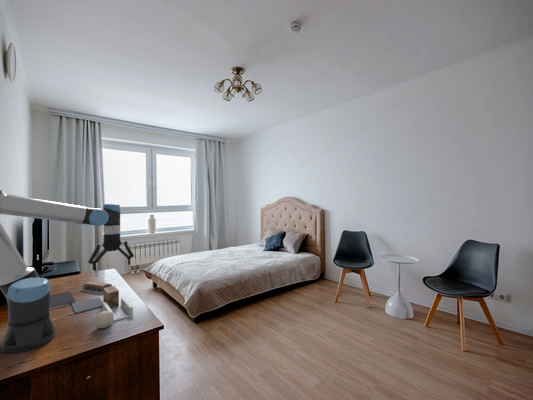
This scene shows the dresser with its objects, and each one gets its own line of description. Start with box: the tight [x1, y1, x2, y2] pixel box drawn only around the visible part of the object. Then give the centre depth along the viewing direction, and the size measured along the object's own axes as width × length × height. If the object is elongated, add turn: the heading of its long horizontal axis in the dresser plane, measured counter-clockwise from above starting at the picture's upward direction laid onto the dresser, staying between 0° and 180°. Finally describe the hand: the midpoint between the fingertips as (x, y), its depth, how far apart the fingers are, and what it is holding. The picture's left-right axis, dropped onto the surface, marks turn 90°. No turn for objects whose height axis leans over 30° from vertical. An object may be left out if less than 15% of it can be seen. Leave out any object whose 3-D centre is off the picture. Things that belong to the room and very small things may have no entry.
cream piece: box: [92, 310, 114, 329], centre depth 107 cm, size 7×7×7 cm
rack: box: [102, 297, 134, 323], centre depth 120 cm, size 9×17×4 cm, turn 44°
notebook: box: [49, 290, 77, 311], centre depth 134 cm, size 13×2×21 cm
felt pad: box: [71, 297, 103, 314], centre depth 128 cm, size 12×14×1 cm
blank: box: [102, 285, 120, 309], centre depth 130 cm, size 5×10×8 cm, turn 44°
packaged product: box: [79, 280, 113, 296], centre depth 150 cm, size 18×5×10 cm
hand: (112, 273), depth 129 cm, fingers open, 13 cm apart
